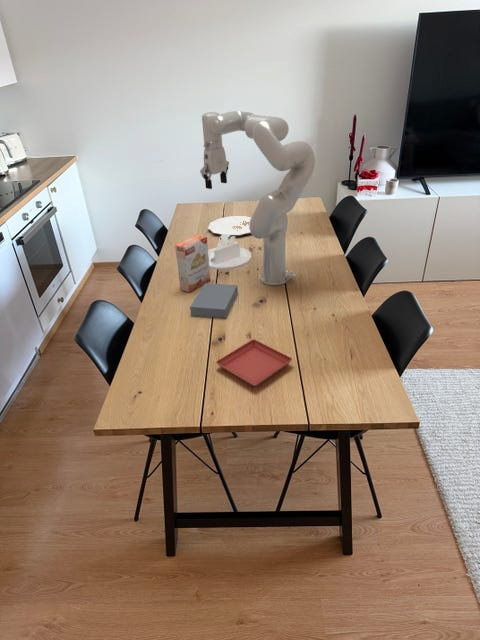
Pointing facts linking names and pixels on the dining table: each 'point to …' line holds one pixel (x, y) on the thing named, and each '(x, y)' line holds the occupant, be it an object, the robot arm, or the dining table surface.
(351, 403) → the dining table surface
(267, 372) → the plant saucer
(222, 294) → the base block
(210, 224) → the plate
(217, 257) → the dish
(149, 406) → the dining table surface
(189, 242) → the cracker box
